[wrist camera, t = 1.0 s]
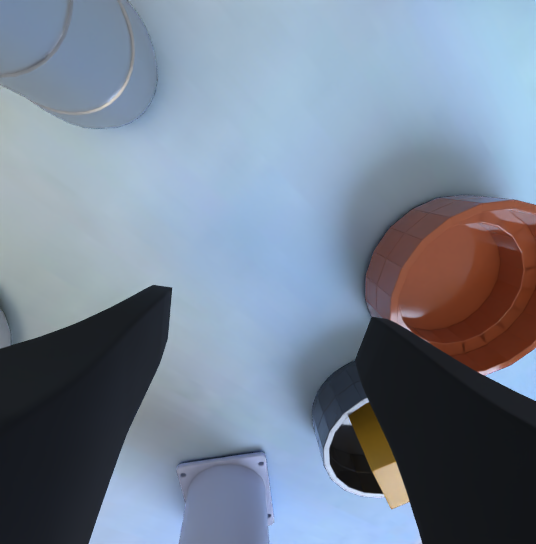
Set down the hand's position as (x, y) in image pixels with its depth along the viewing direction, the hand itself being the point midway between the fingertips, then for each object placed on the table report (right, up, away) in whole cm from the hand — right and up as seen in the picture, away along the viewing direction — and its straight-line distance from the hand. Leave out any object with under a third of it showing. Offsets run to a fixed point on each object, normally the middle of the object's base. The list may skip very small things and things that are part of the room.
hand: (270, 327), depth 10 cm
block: (+9, -10, +15) cm, 21 cm away
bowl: (+13, +2, +12) cm, 18 cm away
